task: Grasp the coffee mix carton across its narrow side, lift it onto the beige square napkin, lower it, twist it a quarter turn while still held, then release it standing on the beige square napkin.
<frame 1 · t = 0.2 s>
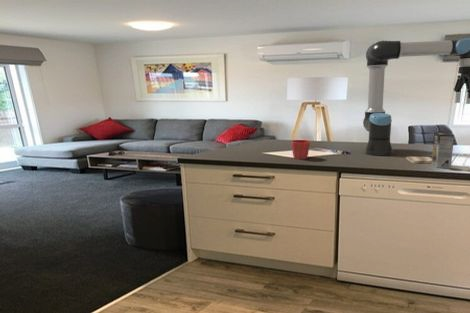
hand: (462, 103, 199), 28 cm above the worktop, fingers open, 13 cm apart
coffee box: (440, 166, 164), on the worktop
flower pot: (300, 158, 194), on the worktop
beige square napkin: (420, 160, 177), on the worktop
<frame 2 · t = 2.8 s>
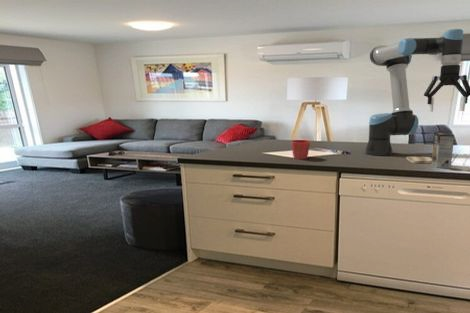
hand: (446, 111, 159), 27 cm above the worktop, fingers open, 13 cm apart
nothing on the worktop moved.
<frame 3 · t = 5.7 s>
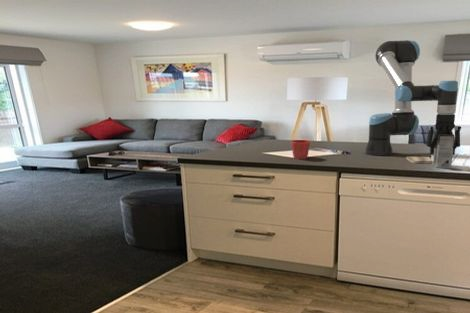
hand: (441, 161, 164), 3 cm above the worktop, fingers closed on coffee box, 7 cm apart
coffee box: (440, 166, 164), on the worktop, touching gripper
everything else where it was.
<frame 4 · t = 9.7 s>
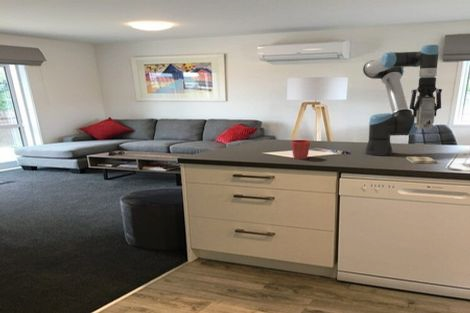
hand: (423, 122, 173), 20 cm above the worktop, fingers closed on coffee box, 7 cm apart
coffee box: (423, 128, 173), point 17 cm above the worktop, touching gripper
everything else where it was.
when the fingers open (4 cm above the worktop, at t = 13.9 s): coffee box stays where it is, resting on beige square napkin.
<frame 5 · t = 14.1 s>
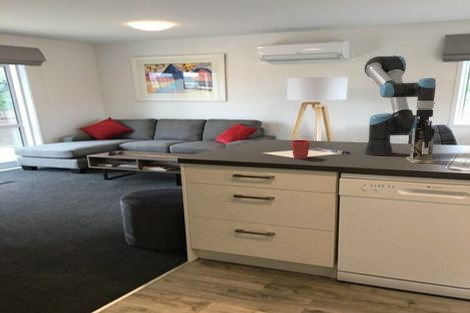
hand: (421, 152, 176), 5 cm above the worktop, fingers open, 9 cm apart
coffee box: (420, 159, 176), point 1 cm above the worktop, touching beige square napkin
everything else where it was.
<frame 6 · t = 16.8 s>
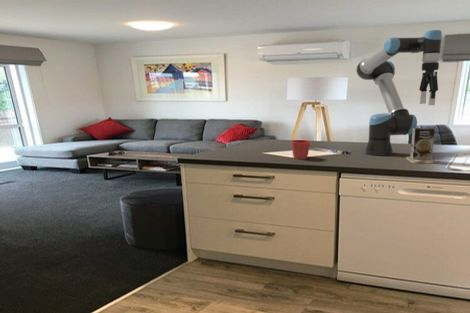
hand: (426, 104, 175), 29 cm above the worktop, fingers open, 13 cm apart
nothing on the worktop moved.
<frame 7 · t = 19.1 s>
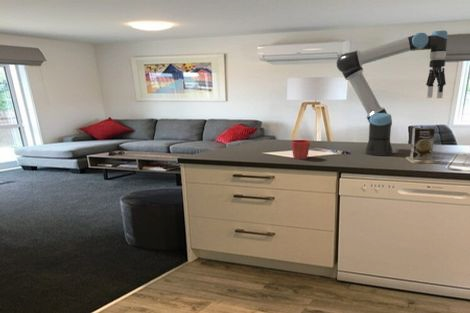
hand: (434, 98, 193), 32 cm above the worktop, fingers open, 13 cm apart
nothing on the worktop moved.
at the end: coffee box inside the target area on the beige square napkin (0.1 cm from its centre), point 1.0 cm above the beige square napkin's base; coffee box tilted 0°; the gripper is holding nothing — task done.
